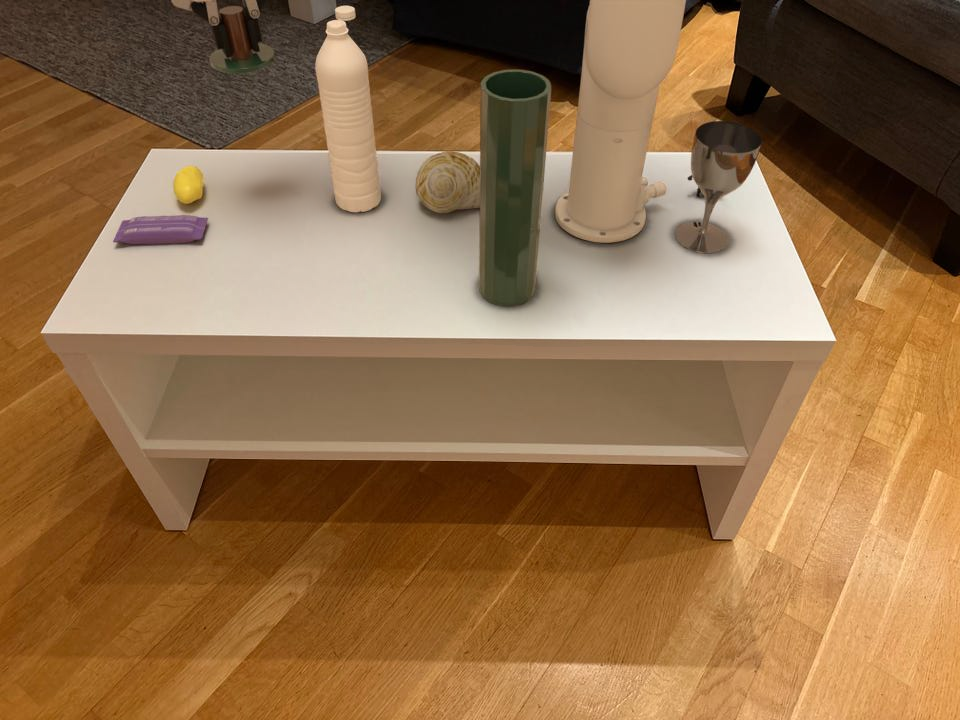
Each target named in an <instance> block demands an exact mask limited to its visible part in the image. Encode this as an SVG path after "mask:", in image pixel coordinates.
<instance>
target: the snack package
mask: <svg viewBox="0 0 960 720" xmlns="http://www.w3.org/2000/svg"><path fill="white" fill-rule="evenodd" d="M208 220H209V217H204V216H203V217H201V216H198V215H190V214H189V215H188V214H180V215H152V216H147V215H146V216H145V215H143V216H135V217H132V218H130V219H123V220H122V221H121V222H120V225H119V227H118V230H117V232H116V234H115V236H114V237H113V241H112V243H124V244H129V245H156V244H157V245H158V244H185V243H192V242H194V241H196V240H202V239H203V235H204V233H205V230H206V226H207V223H208Z"/></svg>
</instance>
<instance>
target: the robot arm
mask: <svg viewBox="0 0 960 720" xmlns="http://www.w3.org/2000/svg"><path fill="white" fill-rule="evenodd" d="M170 2H171V3H172V5H173V6H174V7H176V8H178V9H181V10H182V9H183V10H186V11H190V12H193V13H194V14H196V15H197V16H199V17H200V18H201V19H203V20H205V21H206V22H208V23H209V24H210V29H211V32H212V37H213V40H214V45H215V47H216V50H219V49H222V50H223V52H224V54H225V55H226V57H227V58H229V57H231V56H232V51H231V47H230V43H229V39H228V35H227V31H226V27H225V25H224V23H223V22H222V20H221V16H220V14H219V10H218V3H217V0H170ZM267 2H268V0H242V3H243V11H244V15H245V20H246V24H247V29H248V33H249V38H250V42H251V47H252V50H253V51H255V52H260V49H259V44H258V43H260V42H263V37H262V33H261V27H260V24H259V17H260V14H261V13H260V12H261V11H262V9H263V8H264V7H265V5H266V3H267ZM686 2H687V0H589V5H588V9H587V12H586V19H585V29H584V42H583V52H582V53H583V55H582V64H581V65H582V66H581V75H580V85H579V93H578V102H577V103H578V104H577V109H576V119H575V129H574V137H573V138H574V139H573V147H572V155H571V166H570V175H569V184H568V191H567V192H566V193H564V194H563V195H562V196H560V197H559V199H558V200H557V201H556V204H555V208H554V209H555V210H554V215H555V219H556V221H557V223H558V225H559V226H560V228H562V229H563V230H564V231H565V232H567V233H568V234H570V235H571V236H574V237H575V238H578V239H581V240H582V241H583V240H584V241H587V242H594V243H599V244H600V243H602V244H603V243H607V244H610V243H619V242H623V241H627V240H630V239H631V238H633V237H635V236H636V235H638V234H639V233H640V232H641V231H642V230H643V228H644V226H645V224H646V219H647V211H646V209H645V207H644V204H646V203H647V202H648V201H649V199H655V198H659V197H663V196H665V195H667V185H666V183H665V182H664V181H659V182H655V183H652V184H650V185H649V181H648V178H647V177H646V176H643V174H644V170H645V169H644V168H645V164H646V156H647V154H648V148H649V142H650V137H651V132H652V125H653V121H654V117H655V111H656V107H657V101H658V95H659V90H660V85H661V84H662V83H663V82H664V80H665V79H666V78H667V76H668V75H669V73H670V71H671V70H672V67H673V65H674V62H675V59H676V55H677V51H678V48H679V47H678V46H679V42H680V37H681V31H682V26H683V20H684V15H685V9H686V4H687V3H686Z"/></svg>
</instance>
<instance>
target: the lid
mask: <svg viewBox="0 0 960 720" xmlns="http://www.w3.org/2000/svg"><path fill="white" fill-rule="evenodd" d="M243 9H244V7H241V6H239V5H230V6H225V7H222V8H221V9H219V16H220V18H221V20H222V22H223V23H224V25H225V27H226V31H227V35H228V39H229V43H230V47H231V51H232V56H231V57H229V58H227V57H226V55H225V54H224V52H223V50H222V49H219V50H218V49H216V50H215V51H213V52H212V53H211V54H210V56H209V64H210V67H212V68H213V70H216V71H218V72H220V73H223V74H224V73H225V74H248V73H253V72H256V71H261V70H263V69H264V68H266V67H268V66H270V65H271V64H273V62H275V59H276V54H275V52H274V49H273V48H272V47H271V46H269V45H267V44H264V43H260V42H258V44H259V49H260V52H255V51H253V50H252V47H251V42H250V38H249V33H248V29H247V24H246V20H245V15H244V10H243Z"/></svg>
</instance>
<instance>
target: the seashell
mask: <svg viewBox="0 0 960 720" xmlns="http://www.w3.org/2000/svg"><path fill="white" fill-rule="evenodd" d="M415 193H416V196H417V198H418V199H419V201H420V203H421V204H422V205H423V206H424V207H425V208H426V209H428V210H430V211H432V212H434V213H437V214H449V213H451V212H454V211H455V210H457V209H458V210H460V211H461V210H470V209H478V208H480V163H478V162H477V161H476V160H475V159H474V158H473V157H470V156H469V155H467V154H465V153H462V152H459V151H452V150H444V151H441V152H438V153H436V154H433V155H431V156H429V157H428V158H426V160H425V161H423V163H422V164H421V165H420V167H419V169H418V171H417V175H416V178H415Z"/></svg>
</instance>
